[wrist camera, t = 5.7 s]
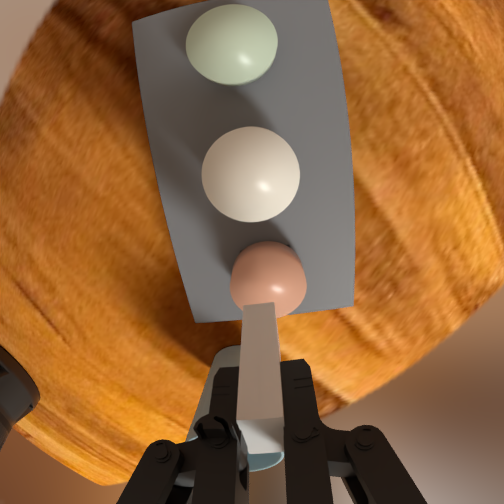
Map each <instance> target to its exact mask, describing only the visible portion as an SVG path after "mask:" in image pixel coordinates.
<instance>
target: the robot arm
mask: <svg viewBox="0 0 504 504" xmlns="http://www.w3.org/2000/svg"><path fill="white" fill-rule="evenodd" d="M212 387H213V388H212V393H211V400H210V407H209V414H207V415H205V416H203V417H201V418H199V419H198V421H197V422H196V423H195V425H194V427H193V429H194V431H195V433H196V434H197V436H198V437H197V438H196V439H194V440H191V441H187V442H183V443H179V444H175V443H173V442H171V441H169V440H163V439H162V440H158V441H155V442H153V443H152V444H150V445H149V446H148V448H147V449H146V451H145V452H144V454H143V456H142V458H141V460H140V462H139V463H138V465H137V467H136V469H135V471H134V472H133V474H132V476H131V478H130V480H129V482H128V483H127V485H126V487H125V489H124V491H123V493H122V494H121V496H120V498H119V500H118V502H117V503H116V504H249V463H248V460H247V455H248V452H249V454H261V453H275V452H284V456H285V473H286V474H285V475H286V495H287V504H333V496H332V489H331V482H330V476H336V477H341V479H342V481H343V483H344V485H345V487H346V489H347V491H348V493H349V495H350V497H351V499H352V501H353V503H354V504H427V502H426V501H425V499H424V498H423V496H422V494H421V493H420V491H419V489H418V488H417V486H416V485H415V483H414V481H413V480H412V478H411V477H410V475H409V474H408V472H407V470H406V469H405V467H404V466H403V464H402V463H401V461H400V459H399V458H398V457H397V455H396V453H395V452H394V450H393V448H392V447H391V445H390V444H389V442H388V441H387V439H386V438H385V436H384V434H383V433H382V432H381V431H380V430H379V429H378V428H376V427H374V426H371V425H362V426H358V427H356V428H354V429H353V430H351V431H343V430H335V429H331V428H329V427H327V426H326V425H324V424H323V423H322V421H321V420H320V418H319V415H318V409H317V403H316V397H315V391H314V386H313V380H312V375H311V369H310V366H309V365H308V364H307V362H306V361H305V360H304V359H298V360H290V361H282V362H281V357H280V345H279V337H278V329H277V321H276V313H275V305H274V302H269V303H261V304H252V305H243V318H242V334H241V350H240V366H235V367H220V368H219V370H218V371H217V373H216V374H215V376H214V379H213V386H212ZM39 400H40V394H39V391H38V389H37V387H36V385H35V384H34V382H33V381H32V379H31V378H30V376H29V375H28V374H27V373H26V371H25V370H24V369H23V368H22V367H21V366H20V365H19V364H18V363H17V362H16V361H15V360H14V359H13V358H12V357H11V356H10V355H9V354H8V353H7V352H6V351H5V350H4V349H2V348H1V347H0V450H1V448H2V446H3V444H4V442H5V440H6V438H7V436H8V434H9V433H10V431H11V429H12V427H13V426H14V424H15V423H17V422H18V421H19V420H21V419H22V418H23V417H24V416H26V415H27V414H28V413H29V412H31V411H32V410H33V409H34V408H35V407H36V405H37V403H38V402H39Z"/></svg>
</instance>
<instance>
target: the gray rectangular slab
mask: <svg viewBox="0 0 504 504" xmlns="http://www.w3.org/2000/svg"><path fill="white" fill-rule="evenodd" d="M229 4H239V5H245V6H249V7H252V8H255V9H257V10H259V11H260V12H262V13H263V14H264V15H265V16H267V17H268V18H269V20H270V21H271V22H272V24H273V25H274V27H275V30H276V33H277V38H278V45H277V50H276V55H275V59H274V61H273V64H272V66H271V67H270V69H269V70H268V71H267V72H266V73H265V74H264V75H263V76H262V77H261V78H259V79H258V80H256V81H254V82H252V83H249V84H246V85H242V86H223V85H219V84H217V83H214V82H212V81H210V80H209V79H207V78H206V77H204V76H203V75H202V74H200V73H199V72H198V71H197V70H196V69H195V68H194V67H193V66H192V64H191V63H190V61H189V59H188V56H187V53H186V38H187V35H188V32H189V30H190V28H191V26H192V25H193V23H194V22H195V21H196V20H197V19H198V18H199V17H200V16H201V15H203V14H204V13H205V12H207V11H209V10H211V9H213V8H216V7H219V6H223V5H229ZM132 28H133V38H134V47H135V56H136V64H137V71H138V78H139V85H140V92H141V98H142V105H143V111H144V117H145V122H146V128H147V133H148V139H149V144H150V149H151V154H152V159H153V164H154V169H155V173H156V178H157V183H158V187H159V191H160V196H161V200H162V204H163V209H164V213H165V217H166V221H167V225H168V229H169V233H170V237H171V241H172V244H173V248H174V252H175V256H176V259H177V263H178V267H179V270H180V274H181V277H182V281H183V284H184V287H185V291H186V294H187V298H188V301H189V304H190V307H191V311H192V314H193V317H194V320H195V323H205V322H219V321H231V320H242V318H243V311H242V310H241V309H240V308H239V307H238V306H237V305H236V304H235V302H234V301H233V299H232V297H231V293H230V280H231V275H232V269H233V265H234V262H235V260H236V258H237V256H238V255H239V254H240V253H241V252H242V251H243V250H244V249H245V248H247V247H248V246H250V245H252V244H255V243H258V242H263V241H274V242H279V243H282V244H284V245H286V246H288V247H290V248H291V249H292V250H293V251H294V252H295V253H296V254H297V255H298V257H299V258H300V260H301V263H302V266H303V270H304V274H305V278H306V283H307V289H306V294H305V297H304V299H303V301H302V302H301V304H300V305H299V306H298V307H297V308H296V309H295V310H294V311H292V312H291V313H289V314H287V315H291V314H299V313H307V312H315V311H323V310H330V309H337V308H344V307H350V306H353V304H354V280H355V206H354V182H353V166H352V152H351V140H350V130H349V120H348V111H347V103H346V95H345V88H344V81H343V75H342V68H341V62H340V57H339V51H338V46H337V40H336V35H335V30H334V26H333V21H332V16H331V12H330V8H329V3H328V0H209V1H204V2H199V3H195V4H191V5H186V6H182V7H179V8H175V9H171V10H168V11H164V12H161V13H157V14H154V15H151V16H148V17H145V18H142V19H139V20H136V21H133V22H132ZM250 126H253V127H261V128H265V129H268V130H270V131H272V132H274V133H276V134H277V135H279V136H280V137H281V138H283V139H284V140H285V141H286V142H287V143H288V144H289V146H290V147H291V148H292V150H293V151H294V153H295V155H296V157H297V160H298V163H299V169H300V181H299V186H298V190H297V192H296V195H295V197H294V198H293V200H292V201H291V203H290V204H289V205H288V206H287V207H286V209H284V210H283V211H282V212H281V213H279V214H278V215H276V216H274V217H272V218H270V219H267V220H264V221H259V222H243V221H238V220H235V219H232V218H230V217H228V216H226V215H224V214H223V213H221V212H220V211H219V210H217V209H216V208H215V207H214V206H213V204H212V203H211V202H210V200H209V199H208V197H207V195H206V193H205V190H204V187H203V184H202V165H203V161H204V158H205V156H206V154H207V152H208V150H209V149H210V147H211V146H212V145H213V143H214V142H215V141H216V140H217V139H219V138H220V137H221V136H223V135H224V134H226V133H228V132H230V131H232V130H235V129H238V128H242V127H250Z"/></svg>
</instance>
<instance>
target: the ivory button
mask: <svg viewBox="0 0 504 504" xmlns="http://www.w3.org/2000/svg"><path fill="white" fill-rule="evenodd" d="M299 181H300V169H299V163H298V160H297V157H296V155H295V153H294V151H293V150H292V148H291V147H290V146H289V144H288V143H287V142H286V141H285V140H284V139H283V138H281V137H280V136H279V135H277V134H276V133H274V132H272V131H270V130H268V129H265V128H261V127H253V126H250V127H242V128H238V129H235V130H232V131H230V132H228V133H226V134H224V135H223V136H221V137H220V138H219V139H217V140H216V141H215V142H214V143H213V145H212V146H211V147H210V149H209V150H208V152H207V154H206V156H205V158H204V161H203V165H202V184H203V187H204V190H205V193H206V195H207V197H208V199H209V200H210V202H211V203H212V204H213V206H214V207H215V208H216V209H217V210H219V211H220V212H221V213H223V214H224V215H226V216H228V217H230V218H232V219H235V220H238V221H243V222H259V221H264V220H267V219H270V218H272V217H274V216H276V215H278V214H279V213H281V212H282V211H283V210H284V209H286V207H287V206H288V205H289V204H290V203H291V201H292V200H293V198H294V197H295V195H296V192H297V190H298V186H299Z"/></svg>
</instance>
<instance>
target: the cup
mask: <svg viewBox="0 0 504 504" xmlns="http://www.w3.org/2000/svg"><path fill="white" fill-rule="evenodd" d="M240 350H241V345H236V346H230V347H226V348H224V349H222V350H221V351H219V352H218V353H217V354H216V355H215V357H214V360H213V363H212V366H211V368H210V371H209V374H208V377H207V380H206V383H205V386H204V389H203V392H202V395H201V398H200V401H199V404H198V407H197V410H196V413H195V416H194V419H193V422H192V424H191V426H190V429H189V432H188V435H187V438H186V441H185V442H187V441H191V440H194V439H196V438H197V437H198V436H197V434H196V433H195V431H194V429H193V427H194V425H195V423H196V422H197V421H198V419H199V418H201V417H203V416H205V415H207V414H209V407H210V400H211V393H212V388H213V387H212V386H213V379H214V376H215V374H216V373H217V371H218V370H219V368H220V367H235V366H240ZM283 457H284V452H275V453H261V454H249V452H248V455H247V460H248V463H249V472H250V471H258V470H263V469H267V468H270V467H272V466H274V465H276V464H277V463H279V462H280V461H281V460H282V459H283Z"/></svg>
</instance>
